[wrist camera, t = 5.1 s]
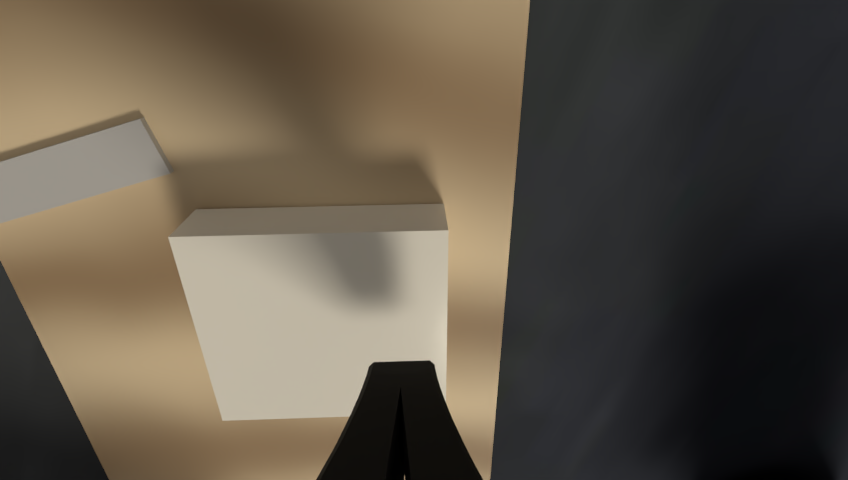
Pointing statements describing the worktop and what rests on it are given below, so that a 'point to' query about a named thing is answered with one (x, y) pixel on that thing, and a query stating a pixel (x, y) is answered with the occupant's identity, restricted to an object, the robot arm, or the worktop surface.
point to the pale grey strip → (80, 169)
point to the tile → (312, 301)
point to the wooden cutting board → (253, 193)
